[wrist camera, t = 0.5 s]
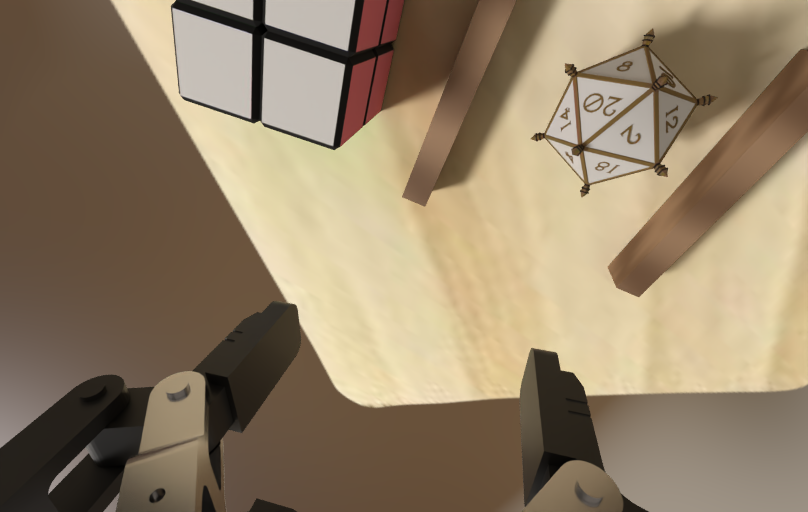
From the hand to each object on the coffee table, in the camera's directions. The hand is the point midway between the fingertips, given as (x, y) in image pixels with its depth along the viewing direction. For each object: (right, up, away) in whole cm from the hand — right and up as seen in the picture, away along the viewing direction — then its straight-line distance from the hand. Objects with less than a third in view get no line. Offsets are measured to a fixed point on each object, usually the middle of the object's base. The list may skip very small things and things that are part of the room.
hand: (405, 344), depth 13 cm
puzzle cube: (-5, +20, +14) cm, 25 cm away
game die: (+14, +14, +14) cm, 24 cm away
